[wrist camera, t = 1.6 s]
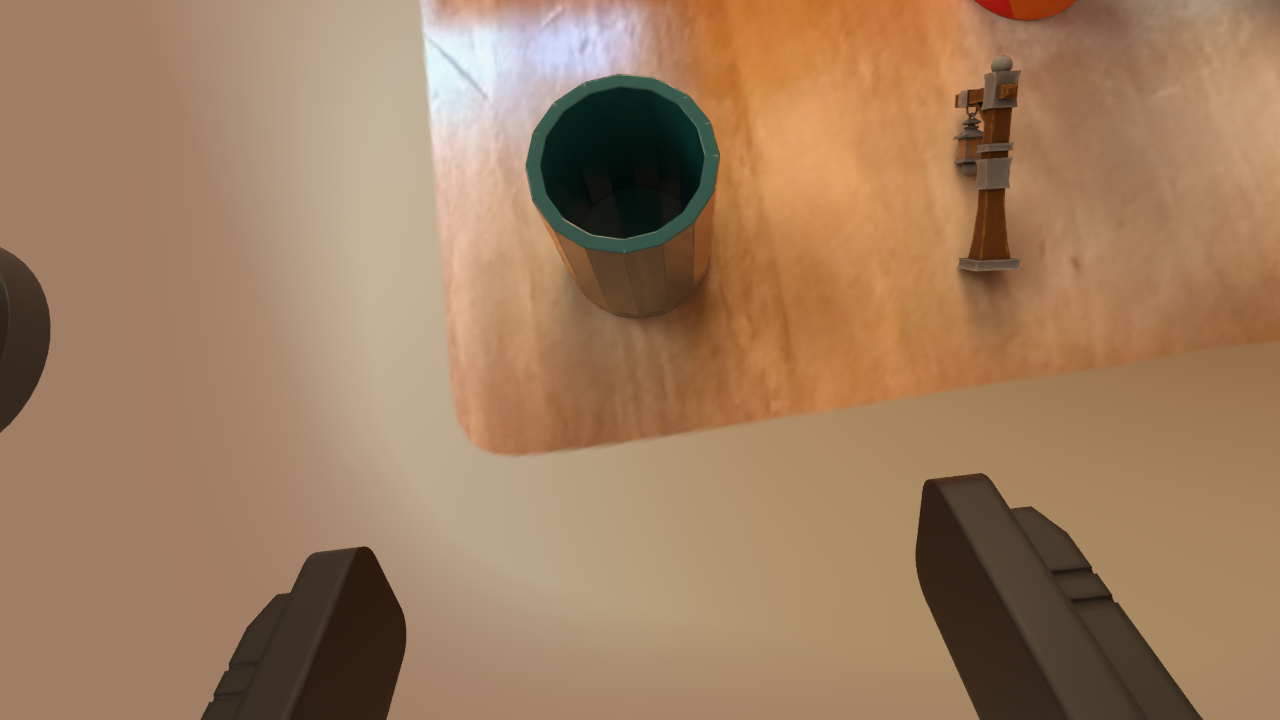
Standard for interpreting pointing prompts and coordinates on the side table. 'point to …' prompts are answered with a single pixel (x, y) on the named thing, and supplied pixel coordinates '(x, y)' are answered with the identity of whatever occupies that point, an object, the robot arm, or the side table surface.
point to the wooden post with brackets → (989, 164)
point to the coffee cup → (1026, 8)
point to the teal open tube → (627, 191)
